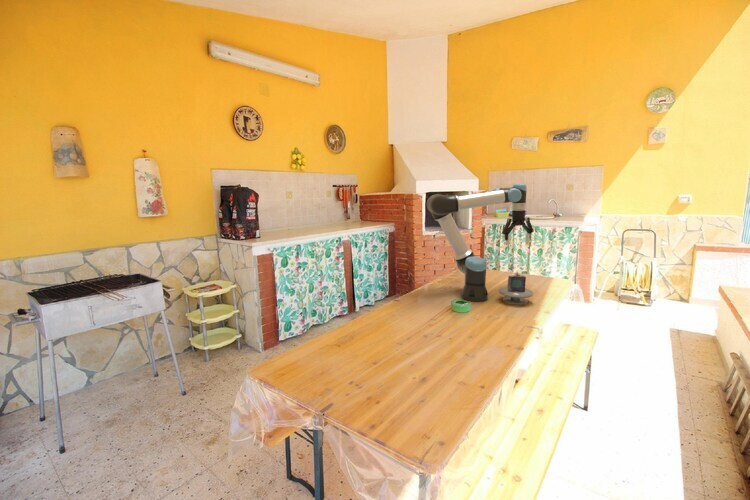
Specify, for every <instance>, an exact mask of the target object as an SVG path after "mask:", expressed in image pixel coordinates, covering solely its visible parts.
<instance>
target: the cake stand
mask: <svg viewBox="0 0 750 500" xmlns="http://www.w3.org/2000/svg"><path fill="white" fill-rule="evenodd" d="M498 293H499V294H500V295H502V296H504V297H503V298H502V302H504V303H505V304H508V305H512V306H525V305H527V304H528V303H529V302H528V299H529V298H531V297H533V296H534V292H533V291H532V290H531V289H528V288H526V287H525V292H510V291H508V286H503V287H500V288H498ZM527 298H528V299H527Z"/></svg>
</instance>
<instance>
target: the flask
mask: <svg viewBox="0 0 750 500" xmlns="http://www.w3.org/2000/svg"><path fill="white" fill-rule="evenodd" d="M507 277H508V278H507V279H508V280H507V287H508V291H510V292H525V288H526V279H527V277H526V276H525V275H524V274H520V273H519V272H515V275H511V274H509V275H508V276H507Z"/></svg>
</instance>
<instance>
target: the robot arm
mask: <svg viewBox="0 0 750 500" xmlns="http://www.w3.org/2000/svg"><path fill="white" fill-rule="evenodd" d="M527 193H528V189H527V184H526V183H514V184H513V185H512V187H495V188H494V189H493V190H492V191H487V192H485V191H484V192H479V193H471V194H466V195H459V196H458V195H457V194H454V195H444V194H441V193H440V194H439V193H435V194H433V195H431V196H430V197H429V198H427V201H426V208H427V210H428V211H429V212H430V214H431V216H432V217H433V219H434V221H436V222H438V224H439V225H440V227H441V230H442V231H443V233H444V234H443V235H445V238H446V239H447V241H448V243H449V245H450V247H451V249H452V251H453V253H454V261H455V262H456V267H457V269H458V270H459V271H460V272H461V273H463V275H464V284H463V287H462V290H461V293H460V295H461V296H460V298H462V299H463V300H465V301H469V302H485V301H488V299H489V294H488V290H487V286H486V284H487V283H486V281H487V280H486V279H487V267H488V266H487V261H486V259H485V258H483V257H480V256H475V254H474V252H473V250H472V249H470V248H469V247H468V245H467V243H466V241H465V240H464V237H463V235H462V234H461V231H460V230H459V227H458V226H457V224H456V222H455V221H456V220H455V219H454V217H453V215H452V214H455V213H459V212H460V211H461V210H462V211H463V210H469V209H475V208H481V207H486V206H488V207H489V206H494V205H500V204H508V203H512V204H511V205H512V206H511V209H512V210H511V218H507V219H506V223H505V225H504V227H503V230H502V232H501V234H502V235H504V240H505V246H507V247H509V246H510V241H511V239H510V237H511V236H510V233H511V232H512V231H513V229H514V228H515V227H516V226H522V228H523V229H524V230H525V232H526V233H525V241H524V243H525V245H530V240H531V235H532V234H533V233H534V228H533V226H532V223H531V221H530V220H531V218H530V217H527V216H526V209H527Z"/></svg>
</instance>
